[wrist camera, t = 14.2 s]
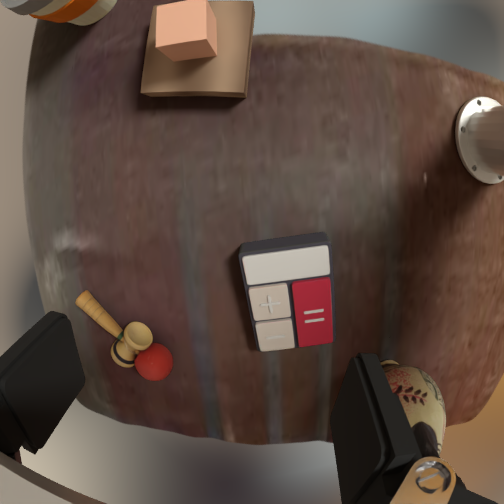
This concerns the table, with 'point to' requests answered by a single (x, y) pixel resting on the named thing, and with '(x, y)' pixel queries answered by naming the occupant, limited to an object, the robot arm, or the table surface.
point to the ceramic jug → (420, 406)
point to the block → (186, 30)
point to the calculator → (290, 290)
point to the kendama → (130, 342)
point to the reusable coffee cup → (62, 9)
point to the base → (205, 58)
